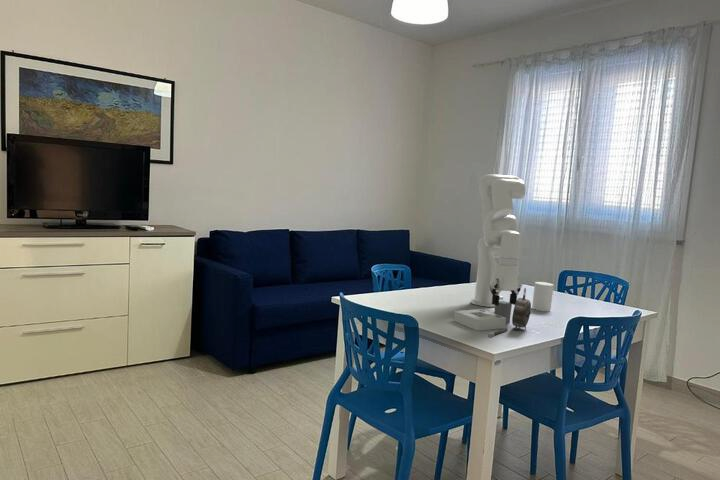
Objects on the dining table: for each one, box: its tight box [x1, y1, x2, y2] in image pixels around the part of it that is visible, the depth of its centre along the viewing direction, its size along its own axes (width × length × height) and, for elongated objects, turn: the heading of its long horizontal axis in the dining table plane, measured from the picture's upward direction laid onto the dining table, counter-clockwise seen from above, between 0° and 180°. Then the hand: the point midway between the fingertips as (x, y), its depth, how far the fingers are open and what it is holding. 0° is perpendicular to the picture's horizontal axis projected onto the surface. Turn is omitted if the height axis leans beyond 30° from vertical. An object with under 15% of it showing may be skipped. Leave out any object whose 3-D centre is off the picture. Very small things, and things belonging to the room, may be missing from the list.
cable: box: [487, 327, 509, 338], centre depth 192 cm, size 14×1×1 cm, turn 140°
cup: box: [531, 281, 555, 312], centre depth 241 cm, size 8×8×12 cm
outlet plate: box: [453, 308, 507, 331], centre depth 204 cm, size 14×14×4 cm
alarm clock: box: [511, 287, 532, 332], centre depth 201 cm, size 11×5×16 cm, turn 150°
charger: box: [493, 300, 513, 324], centre depth 211 cm, size 4×4×8 cm
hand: (504, 304), depth 210 cm, fingers open, 9 cm apart
